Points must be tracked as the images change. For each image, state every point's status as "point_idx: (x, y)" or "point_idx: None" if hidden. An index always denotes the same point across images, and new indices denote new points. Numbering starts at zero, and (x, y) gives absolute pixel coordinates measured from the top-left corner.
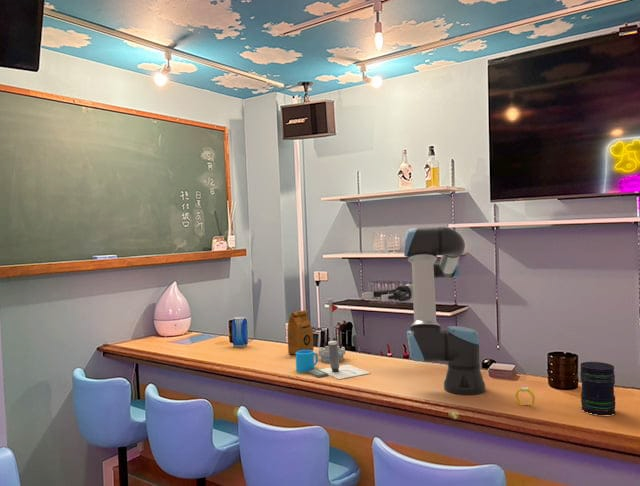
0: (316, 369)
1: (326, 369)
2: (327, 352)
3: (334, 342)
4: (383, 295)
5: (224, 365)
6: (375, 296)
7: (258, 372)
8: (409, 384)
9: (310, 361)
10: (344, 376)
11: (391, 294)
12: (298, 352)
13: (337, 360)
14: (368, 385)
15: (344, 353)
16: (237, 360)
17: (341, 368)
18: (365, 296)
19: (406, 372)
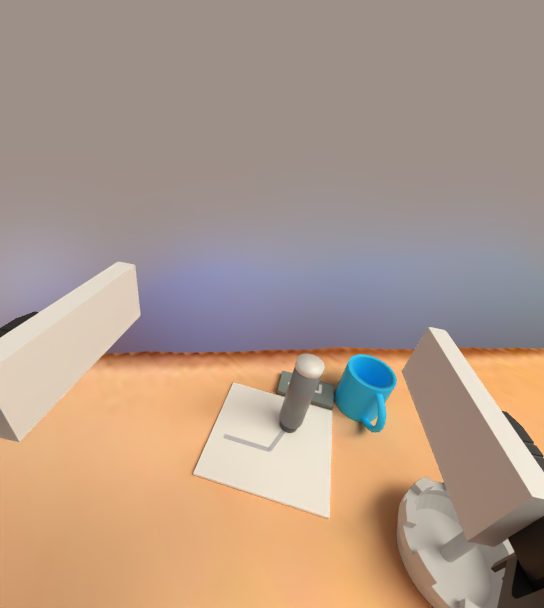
0: (326, 401)
1: (320, 425)
2: (416, 483)
3: (297, 358)
4: (110, 270)
5: (468, 351)
6: (501, 599)
7: (388, 349)
8: (19, 447)
9: (342, 382)
10: (235, 401)
11: (3, 341)
12: (385, 370)
13: (284, 402)
14: (145, 384)
15: (420, 578)
16: (509, 382)
17: (300, 458)
18: (422, 383)
19: (47, 603)
